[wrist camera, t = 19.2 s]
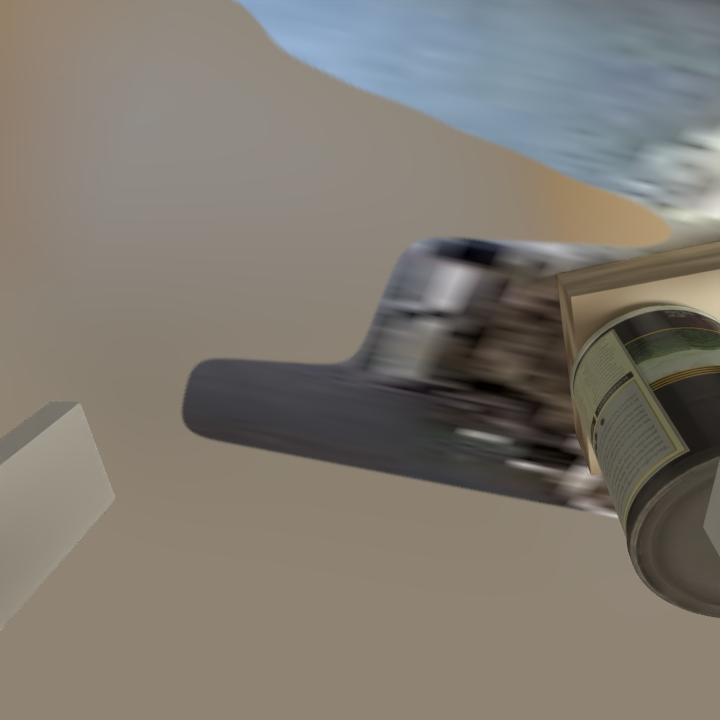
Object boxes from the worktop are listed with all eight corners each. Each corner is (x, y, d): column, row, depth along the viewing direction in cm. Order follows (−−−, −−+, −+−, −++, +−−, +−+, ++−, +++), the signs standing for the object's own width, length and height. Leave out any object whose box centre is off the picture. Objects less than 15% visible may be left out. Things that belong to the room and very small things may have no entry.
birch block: (555, 272, 39) (570, 297, 33) (772, 229, 35) (828, 248, 30) (574, 431, 44) (591, 475, 39) (766, 407, 40) (813, 451, 35)
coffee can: (686, 269, 31) (844, 400, 19) (769, 386, 34) (954, 567, 21) (536, 365, 35) (584, 521, 23) (620, 461, 38) (702, 647, 26)
